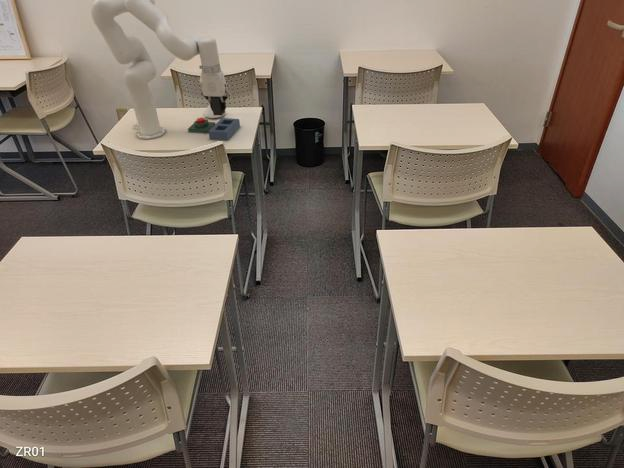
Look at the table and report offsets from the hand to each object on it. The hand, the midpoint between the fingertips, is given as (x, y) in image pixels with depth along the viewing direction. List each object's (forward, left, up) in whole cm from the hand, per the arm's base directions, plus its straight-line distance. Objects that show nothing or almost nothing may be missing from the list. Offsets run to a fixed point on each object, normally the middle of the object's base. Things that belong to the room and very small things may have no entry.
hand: (218, 109), depth 214 cm
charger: (0, 0, -2) cm, 2 cm away
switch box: (-13, +6, -13) cm, 19 cm away
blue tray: (0, +3, -13) cm, 13 cm away
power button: (-13, +6, -10) cm, 18 cm away
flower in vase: (-13, +21, -13) cm, 28 cm away
